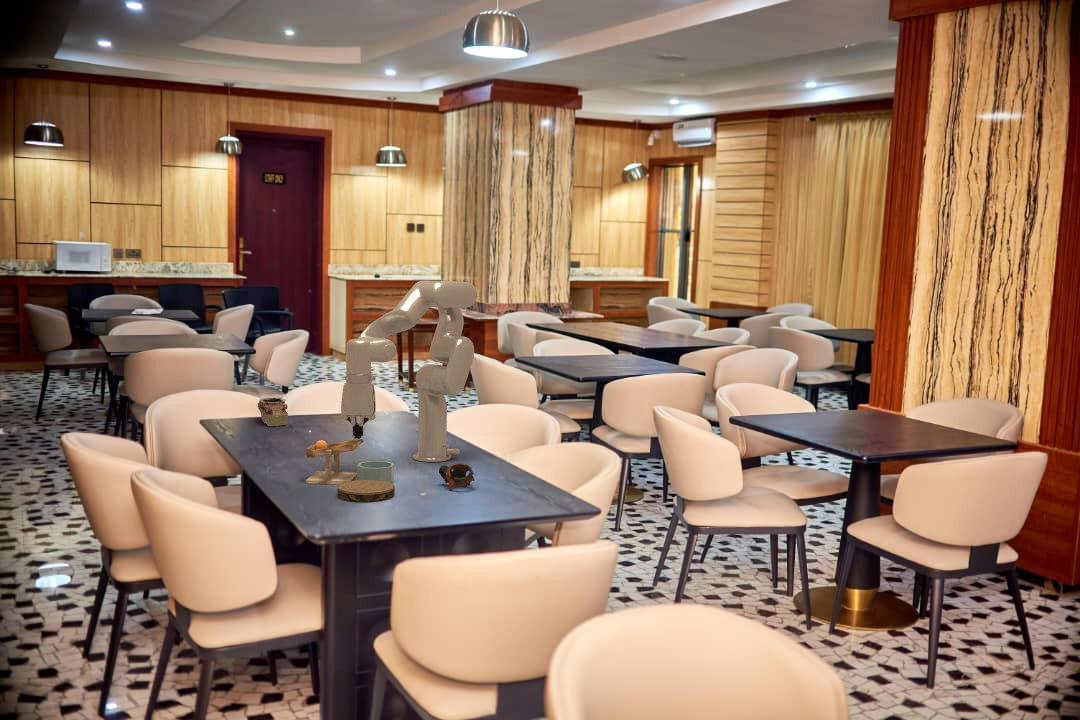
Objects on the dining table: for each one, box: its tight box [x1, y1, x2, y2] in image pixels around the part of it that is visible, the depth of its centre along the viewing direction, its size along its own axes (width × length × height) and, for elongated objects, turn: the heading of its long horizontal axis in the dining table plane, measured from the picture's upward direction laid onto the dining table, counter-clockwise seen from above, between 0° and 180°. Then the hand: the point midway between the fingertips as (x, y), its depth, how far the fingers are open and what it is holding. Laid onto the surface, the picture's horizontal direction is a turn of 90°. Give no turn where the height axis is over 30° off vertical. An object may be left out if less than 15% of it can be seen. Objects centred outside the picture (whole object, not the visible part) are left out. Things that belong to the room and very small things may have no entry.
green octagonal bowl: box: [356, 460, 395, 484], centre depth 301 cm, size 10×10×5 cm
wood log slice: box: [337, 479, 396, 504], centre depth 283 cm, size 16×16×3 cm
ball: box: [314, 439, 328, 450], centre depth 301 cm, size 4×4×4 cm
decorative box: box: [257, 397, 289, 427], centre depth 394 cm, size 13×20×10 cm, turn 20°
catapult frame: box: [305, 450, 357, 485], centre depth 301 cm, size 13×12×10 cm
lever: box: [305, 438, 364, 460], centre depth 304 cm, size 14×16×3 cm
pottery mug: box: [438, 462, 475, 491], centre depth 296 cm, size 12×10×8 cm
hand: (357, 438), depth 310 cm, fingers closed
